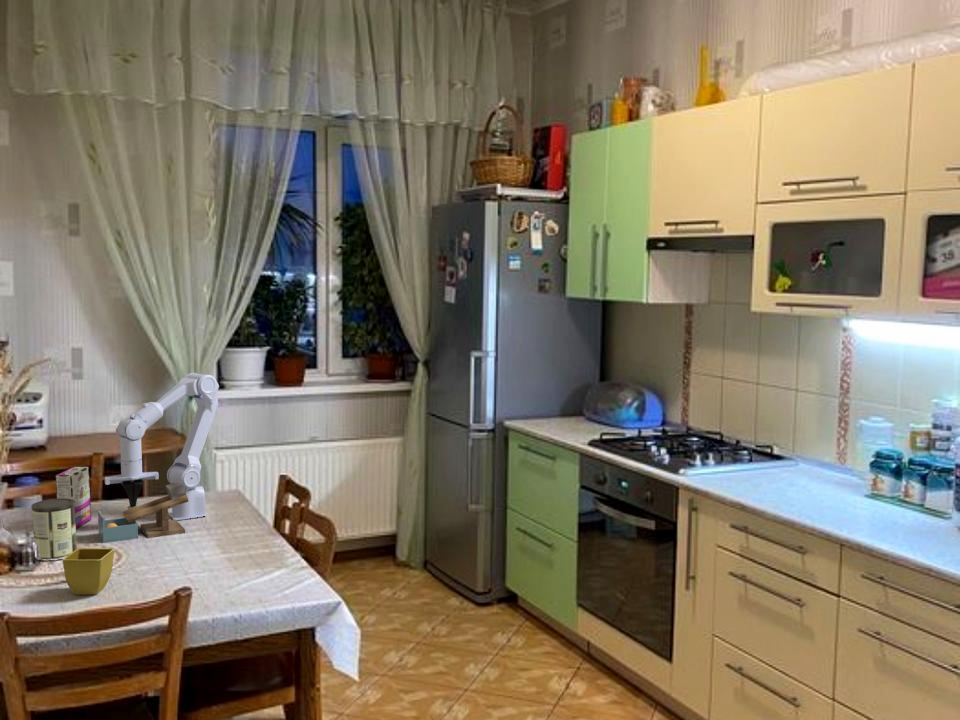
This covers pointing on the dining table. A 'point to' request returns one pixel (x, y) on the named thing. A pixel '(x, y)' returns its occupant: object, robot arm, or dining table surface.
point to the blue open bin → (116, 529)
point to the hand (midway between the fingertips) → (132, 505)
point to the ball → (111, 525)
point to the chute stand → (162, 525)
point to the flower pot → (88, 569)
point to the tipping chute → (158, 503)
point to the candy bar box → (76, 492)
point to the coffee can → (54, 527)
